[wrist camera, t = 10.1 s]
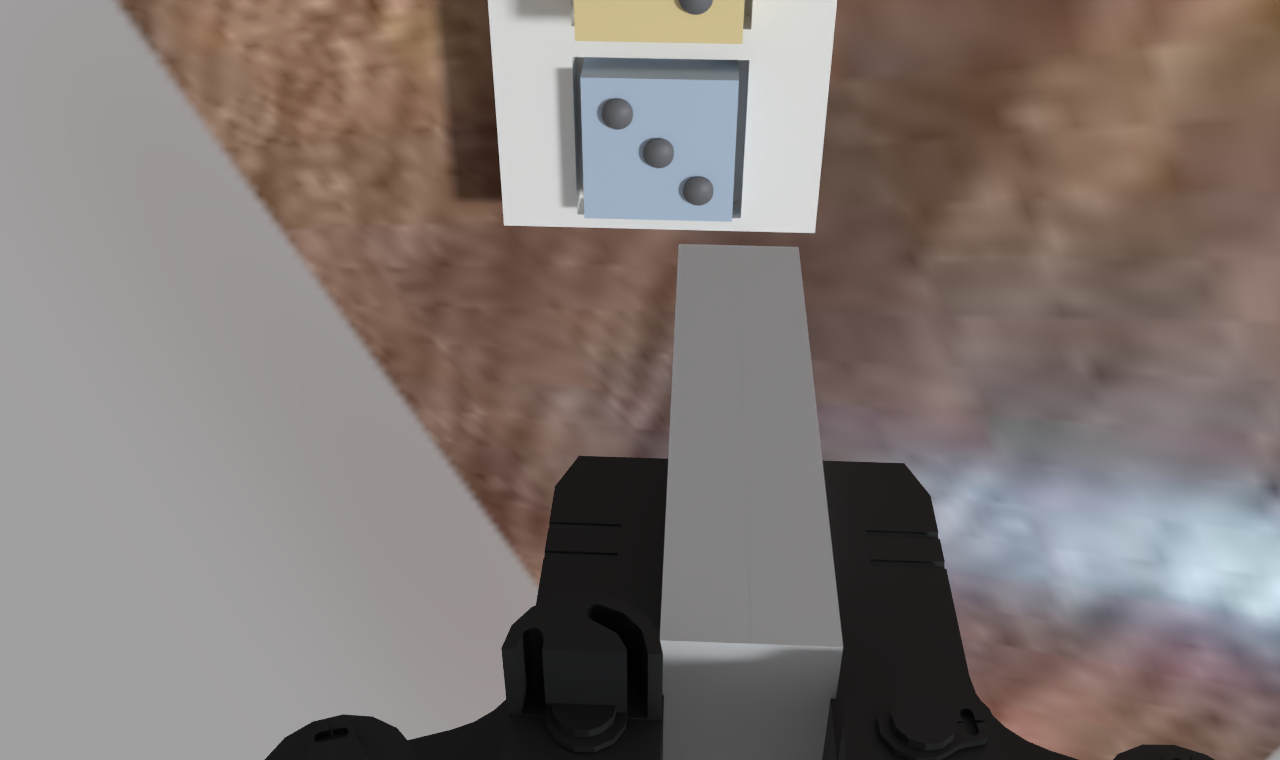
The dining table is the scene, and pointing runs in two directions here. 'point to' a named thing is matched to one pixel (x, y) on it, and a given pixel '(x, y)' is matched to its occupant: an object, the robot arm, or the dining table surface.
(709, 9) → the tile two
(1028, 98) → the dining table surface
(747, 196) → the panel
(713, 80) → the tile three
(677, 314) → the robot arm
